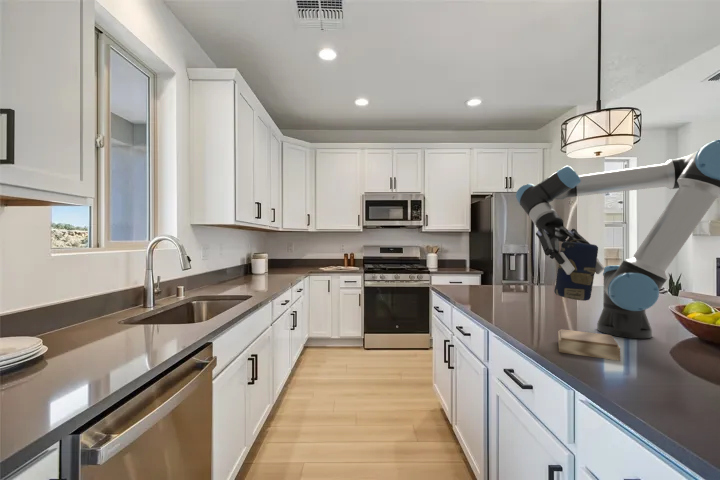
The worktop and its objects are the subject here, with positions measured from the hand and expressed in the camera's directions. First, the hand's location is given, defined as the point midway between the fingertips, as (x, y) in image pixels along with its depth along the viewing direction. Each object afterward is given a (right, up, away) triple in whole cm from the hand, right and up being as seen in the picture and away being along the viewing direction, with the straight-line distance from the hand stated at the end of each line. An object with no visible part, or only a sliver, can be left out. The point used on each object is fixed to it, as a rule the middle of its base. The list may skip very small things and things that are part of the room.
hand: (586, 271), depth 101 cm
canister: (-2, -9, +4) cm, 10 cm away
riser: (0, -23, -1) cm, 23 cm away
